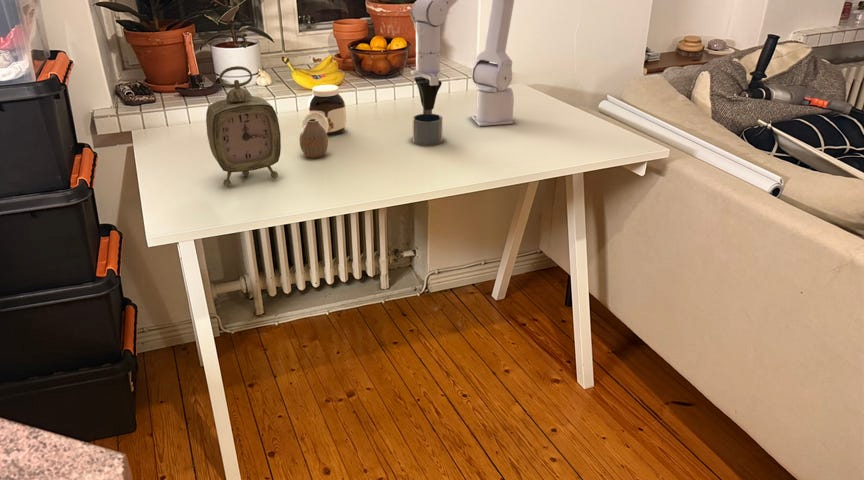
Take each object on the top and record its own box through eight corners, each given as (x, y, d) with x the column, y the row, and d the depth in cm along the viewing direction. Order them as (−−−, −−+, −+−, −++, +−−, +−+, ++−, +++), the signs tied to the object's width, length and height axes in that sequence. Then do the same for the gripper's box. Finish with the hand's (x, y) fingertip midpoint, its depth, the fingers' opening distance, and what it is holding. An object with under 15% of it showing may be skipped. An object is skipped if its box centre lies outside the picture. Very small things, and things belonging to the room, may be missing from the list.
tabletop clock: (220, 191, 152) (203, 75, 140) (212, 177, 159) (195, 66, 147) (285, 179, 157) (273, 66, 145) (274, 167, 164) (262, 58, 152)
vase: (333, 151, 172) (331, 117, 168) (322, 161, 167) (319, 125, 162) (307, 149, 174) (305, 114, 170) (296, 158, 169) (292, 123, 165)
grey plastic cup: (438, 135, 182) (438, 112, 179) (445, 144, 175) (445, 121, 172) (410, 137, 181) (410, 114, 178) (416, 146, 174) (416, 123, 171)
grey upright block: (430, 111, 176) (431, 87, 173) (432, 114, 174) (433, 90, 171) (422, 112, 175) (422, 88, 172) (424, 114, 173) (424, 90, 170)
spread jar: (345, 125, 191) (342, 83, 185) (350, 138, 181) (348, 93, 175) (301, 129, 189) (297, 86, 183) (304, 142, 179) (300, 97, 174)
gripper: (405, 46, 173) (406, 101, 179) (417, 59, 160) (417, 117, 167) (433, 44, 174) (433, 99, 180) (447, 57, 161) (446, 115, 168)
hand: (427, 107), depth 174 cm, fingers closed on grey upright block, 2 cm apart
